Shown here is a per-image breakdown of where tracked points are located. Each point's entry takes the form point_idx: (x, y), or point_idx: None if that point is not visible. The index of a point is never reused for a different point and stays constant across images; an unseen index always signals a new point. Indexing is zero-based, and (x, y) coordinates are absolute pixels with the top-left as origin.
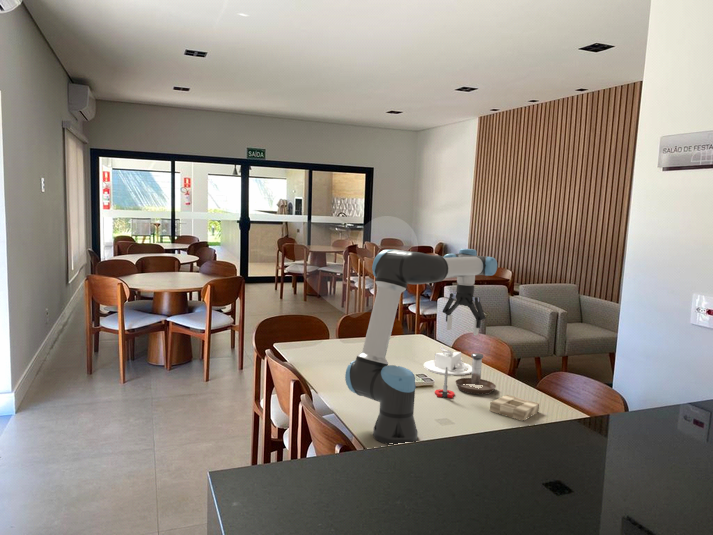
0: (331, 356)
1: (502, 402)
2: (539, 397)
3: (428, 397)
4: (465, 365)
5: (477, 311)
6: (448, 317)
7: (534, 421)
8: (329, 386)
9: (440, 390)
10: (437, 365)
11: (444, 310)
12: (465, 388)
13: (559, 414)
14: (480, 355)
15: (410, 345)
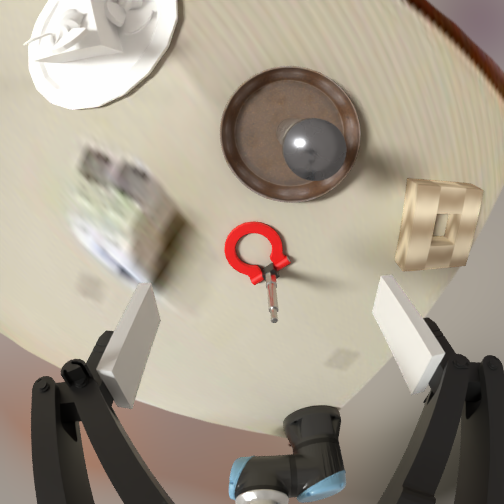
0: None
1: (424, 249)
2: (445, 71)
3: (242, 298)
4: None
5: (457, 427)
6: (132, 392)
7: None
8: None
9: (234, 246)
10: (67, 60)
11: (71, 428)
12: (293, 200)
13: (497, 164)
14: (334, 150)
15: None
